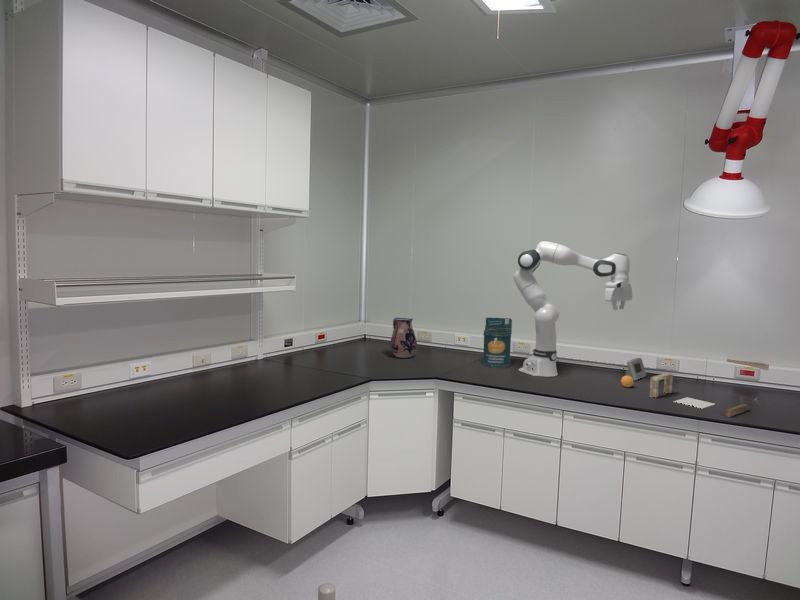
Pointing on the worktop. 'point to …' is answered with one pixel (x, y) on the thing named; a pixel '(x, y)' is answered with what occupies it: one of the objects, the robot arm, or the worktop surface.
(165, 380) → the worktop surface
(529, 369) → the robot arm
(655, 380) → the bridge
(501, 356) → the teal food package
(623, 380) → the ball
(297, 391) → the worktop surface
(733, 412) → the stopper
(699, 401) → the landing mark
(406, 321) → the ceramic pitcher
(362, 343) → the worktop surface
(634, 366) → the digital clock
